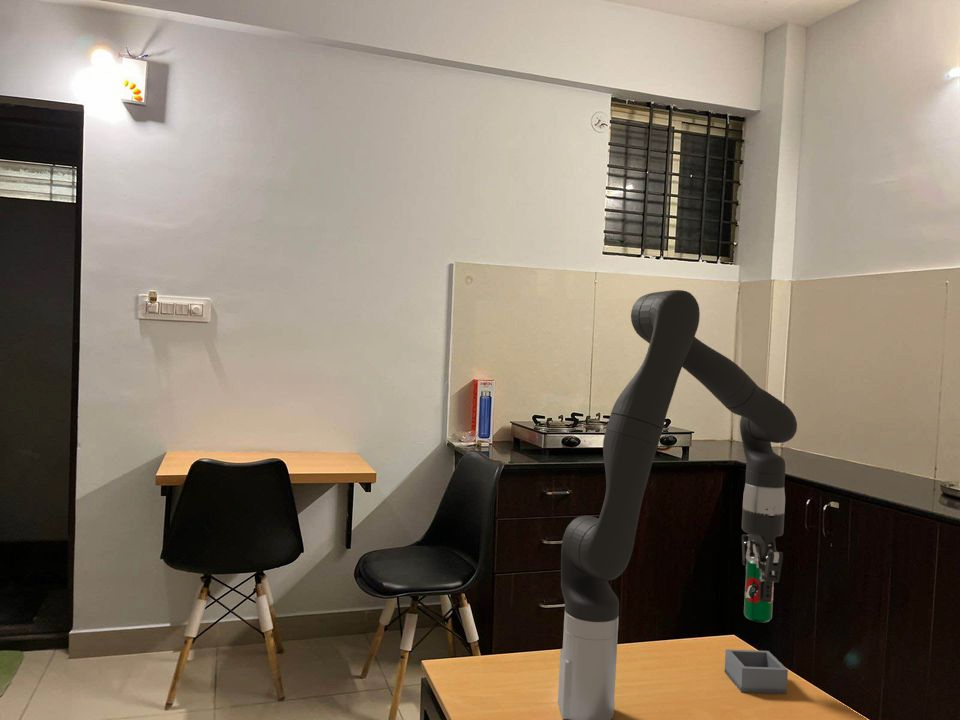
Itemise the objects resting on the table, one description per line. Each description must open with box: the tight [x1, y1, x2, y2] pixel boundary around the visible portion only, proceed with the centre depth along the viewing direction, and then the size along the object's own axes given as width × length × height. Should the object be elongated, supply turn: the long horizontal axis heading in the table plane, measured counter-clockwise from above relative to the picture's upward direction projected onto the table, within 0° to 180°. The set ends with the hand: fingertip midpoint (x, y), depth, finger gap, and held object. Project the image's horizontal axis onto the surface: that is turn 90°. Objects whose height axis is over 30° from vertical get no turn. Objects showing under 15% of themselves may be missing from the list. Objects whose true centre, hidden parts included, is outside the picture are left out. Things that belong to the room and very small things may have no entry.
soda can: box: [743, 554, 775, 623], centre depth 140 cm, size 5×5×12 cm
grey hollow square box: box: [724, 648, 789, 695], centre depth 140 cm, size 9×9×4 cm
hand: (758, 595), depth 140 cm, fingers closed on soda can, 5 cm apart
